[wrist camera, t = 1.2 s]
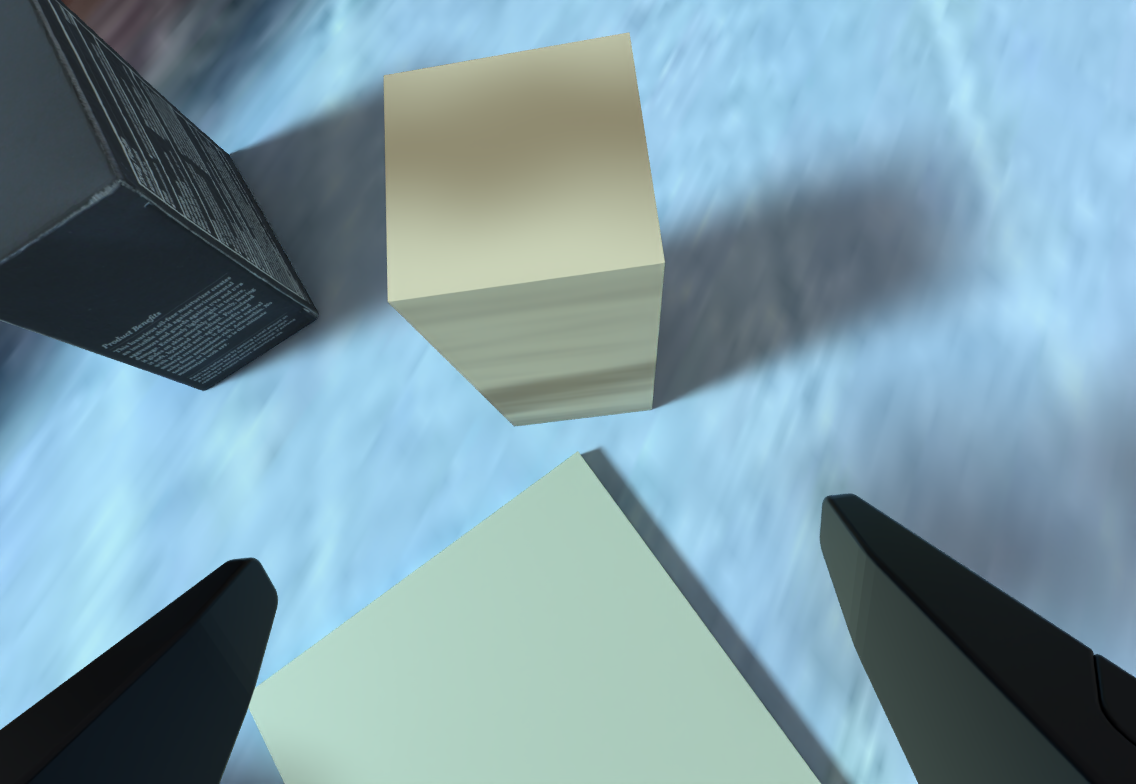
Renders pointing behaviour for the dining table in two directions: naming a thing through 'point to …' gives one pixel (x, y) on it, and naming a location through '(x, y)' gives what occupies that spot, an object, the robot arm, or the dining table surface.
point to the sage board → (526, 667)
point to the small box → (127, 214)
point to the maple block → (528, 227)
